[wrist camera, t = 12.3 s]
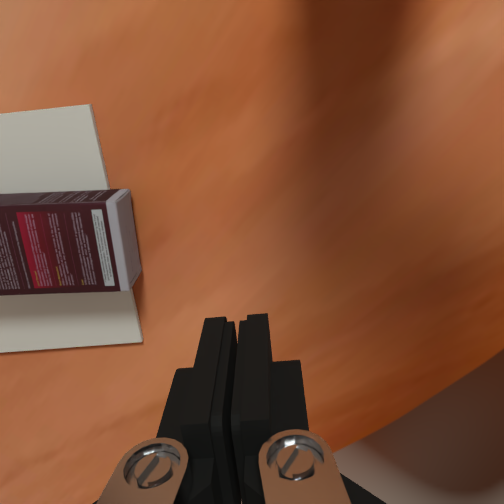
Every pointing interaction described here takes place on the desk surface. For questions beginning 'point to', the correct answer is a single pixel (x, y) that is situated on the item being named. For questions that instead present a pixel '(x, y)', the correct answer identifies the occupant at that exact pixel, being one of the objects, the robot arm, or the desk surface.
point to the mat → (59, 180)
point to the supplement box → (67, 242)
